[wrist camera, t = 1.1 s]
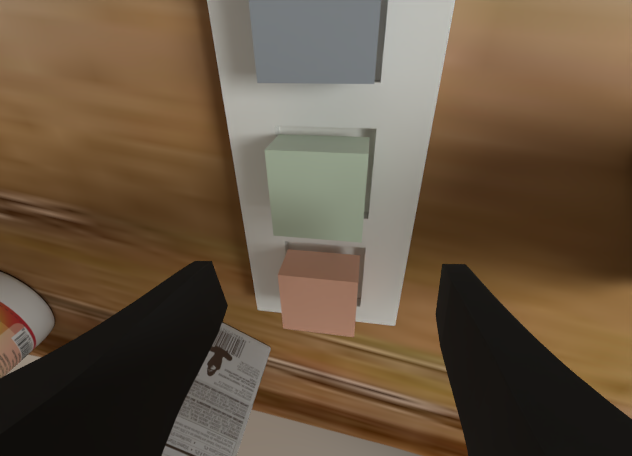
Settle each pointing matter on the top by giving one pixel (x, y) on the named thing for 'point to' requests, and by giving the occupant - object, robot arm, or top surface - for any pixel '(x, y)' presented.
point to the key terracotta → (319, 291)
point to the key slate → (315, 40)
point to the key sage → (317, 186)
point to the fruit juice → (20, 321)
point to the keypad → (339, 120)
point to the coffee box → (220, 397)
